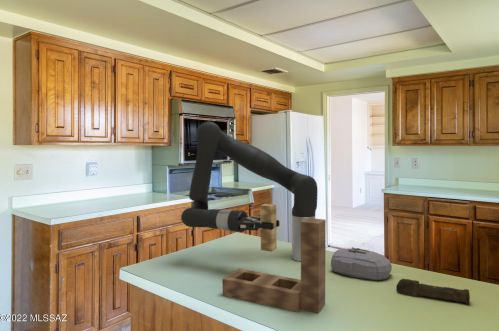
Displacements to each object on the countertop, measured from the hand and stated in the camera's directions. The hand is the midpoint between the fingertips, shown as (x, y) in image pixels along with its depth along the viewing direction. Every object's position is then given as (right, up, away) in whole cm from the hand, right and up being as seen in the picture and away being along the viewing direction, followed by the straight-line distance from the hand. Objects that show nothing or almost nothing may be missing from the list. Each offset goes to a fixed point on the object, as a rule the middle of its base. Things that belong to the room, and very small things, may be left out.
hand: (276, 224), depth 119 cm
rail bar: (-2, -8, +2) cm, 9 cm away
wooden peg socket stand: (-2, -19, -14) cm, 24 cm away
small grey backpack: (+31, -18, +7) cm, 36 cm away
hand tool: (+44, -19, -15) cm, 50 cm away
